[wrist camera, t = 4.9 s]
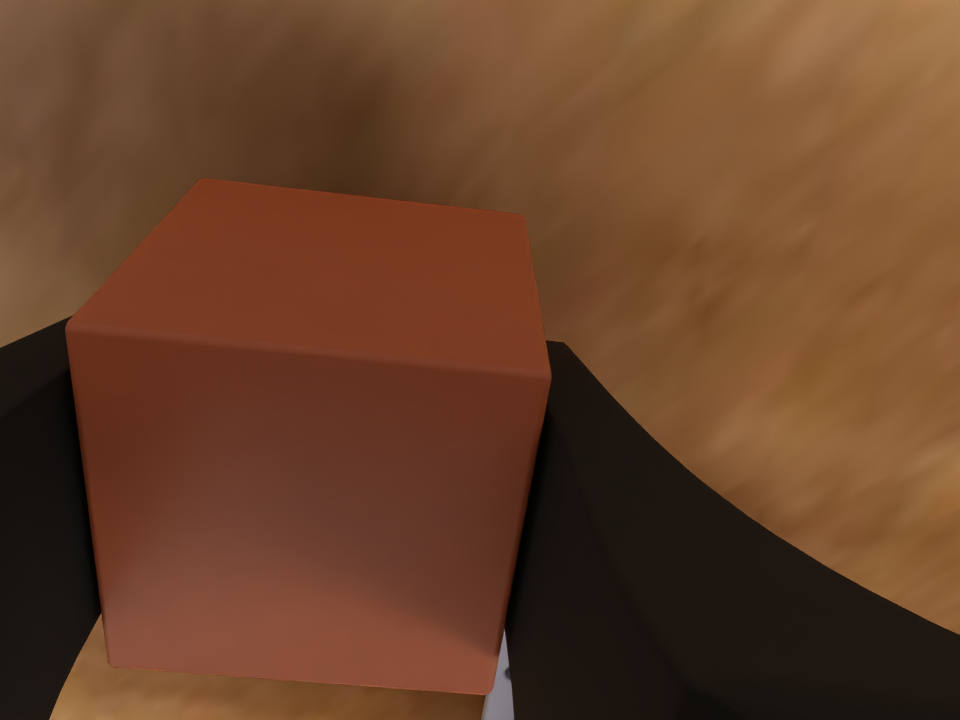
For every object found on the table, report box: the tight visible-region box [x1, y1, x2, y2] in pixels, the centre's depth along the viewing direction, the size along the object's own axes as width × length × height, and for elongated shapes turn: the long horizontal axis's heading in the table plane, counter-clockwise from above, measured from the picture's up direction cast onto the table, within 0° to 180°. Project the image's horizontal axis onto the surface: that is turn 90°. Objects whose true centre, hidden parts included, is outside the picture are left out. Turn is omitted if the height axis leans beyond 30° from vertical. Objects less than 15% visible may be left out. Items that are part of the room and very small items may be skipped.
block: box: [65, 178, 552, 695], centre depth 10 cm, size 4×4×4 cm
